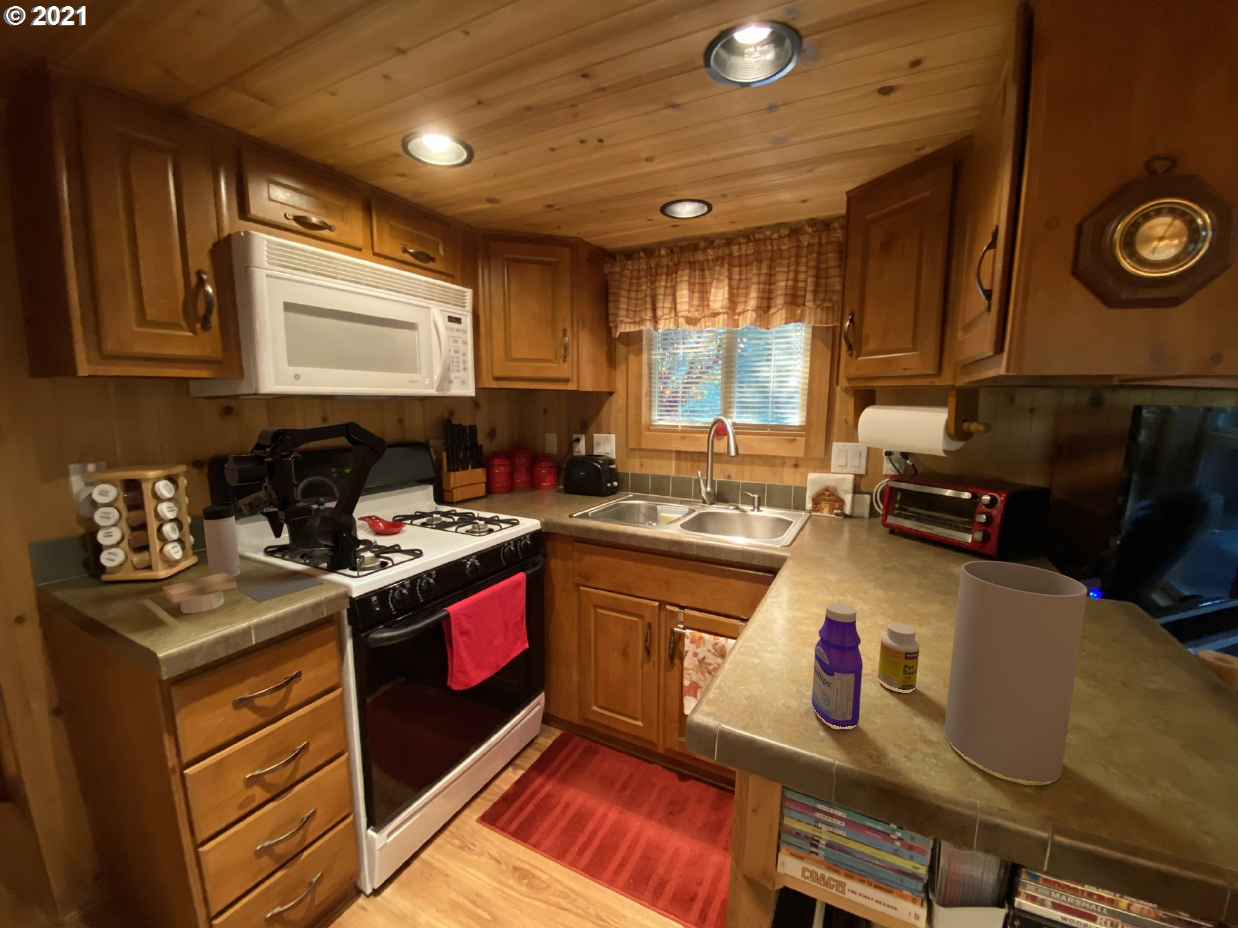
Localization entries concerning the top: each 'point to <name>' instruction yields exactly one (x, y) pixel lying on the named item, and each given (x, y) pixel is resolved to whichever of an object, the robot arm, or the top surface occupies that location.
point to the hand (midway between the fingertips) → (285, 541)
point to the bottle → (838, 667)
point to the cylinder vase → (1014, 667)
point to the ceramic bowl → (202, 603)
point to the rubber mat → (281, 587)
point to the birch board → (199, 587)
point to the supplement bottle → (899, 657)
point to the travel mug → (221, 539)
